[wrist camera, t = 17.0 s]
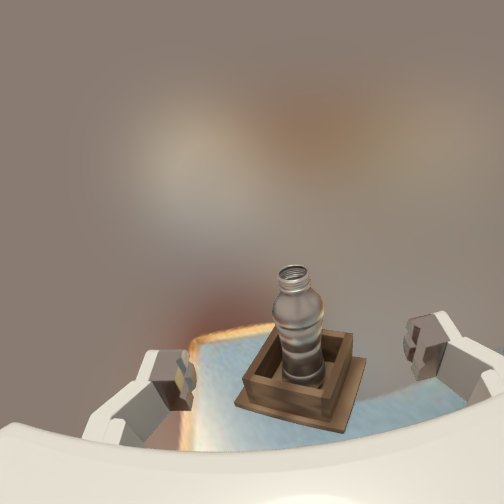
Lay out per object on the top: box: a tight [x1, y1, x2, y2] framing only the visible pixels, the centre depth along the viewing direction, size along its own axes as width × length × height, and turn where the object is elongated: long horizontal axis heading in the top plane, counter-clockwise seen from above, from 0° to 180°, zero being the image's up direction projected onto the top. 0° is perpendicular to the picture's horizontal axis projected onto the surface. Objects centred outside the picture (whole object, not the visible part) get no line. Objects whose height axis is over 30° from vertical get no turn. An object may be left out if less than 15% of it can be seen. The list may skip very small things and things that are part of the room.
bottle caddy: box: [234, 325, 366, 434], centre depth 44 cm, size 17×14×7 cm
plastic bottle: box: [272, 265, 326, 389], centre depth 41 cm, size 6×7×20 cm
